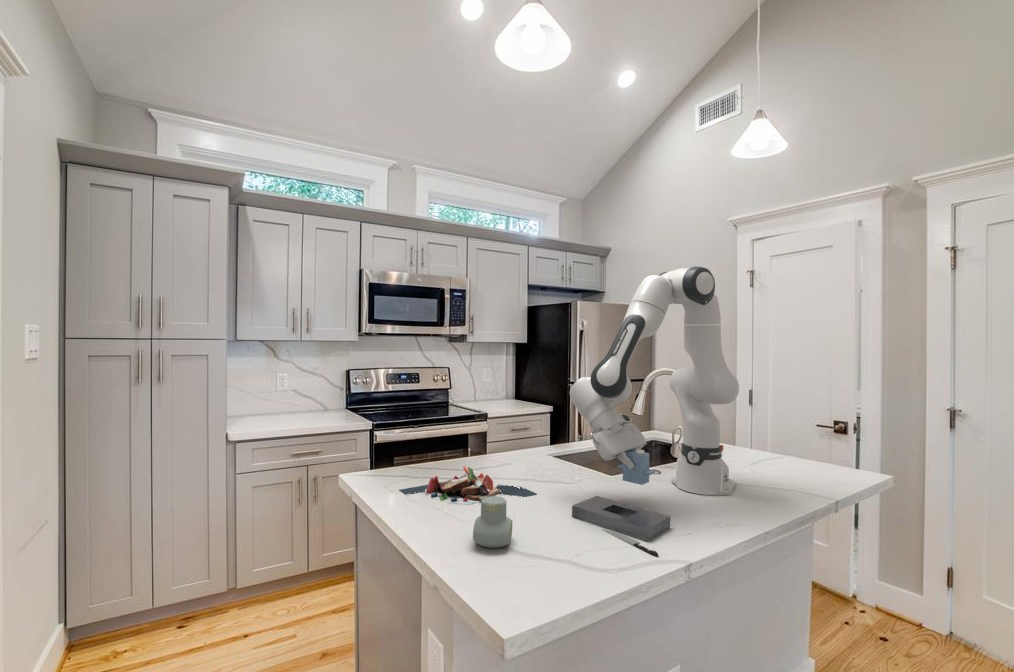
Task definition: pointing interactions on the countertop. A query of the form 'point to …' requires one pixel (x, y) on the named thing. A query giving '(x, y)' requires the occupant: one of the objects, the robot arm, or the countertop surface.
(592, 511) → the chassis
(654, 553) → the chef's knife
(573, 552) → the countertop surface
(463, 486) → the platter
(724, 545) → the countertop surface
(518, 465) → the countertop surface
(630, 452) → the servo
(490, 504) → the air freshener
